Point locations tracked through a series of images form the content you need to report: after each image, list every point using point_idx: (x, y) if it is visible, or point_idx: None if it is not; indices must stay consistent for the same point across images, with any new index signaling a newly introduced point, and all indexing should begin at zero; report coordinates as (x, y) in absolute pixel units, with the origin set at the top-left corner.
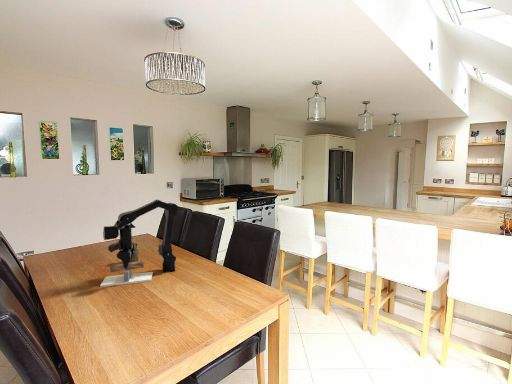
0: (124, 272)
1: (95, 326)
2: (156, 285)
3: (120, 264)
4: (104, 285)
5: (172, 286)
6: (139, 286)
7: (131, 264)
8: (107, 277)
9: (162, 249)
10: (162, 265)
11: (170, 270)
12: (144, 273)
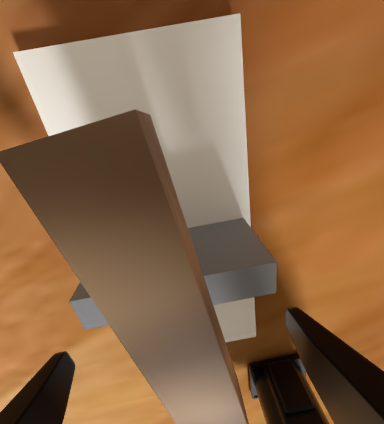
0: (77, 304)
1: None
2: (94, 377)
3: (147, 297)
4: (36, 96)
5: (88, 420)
6: (75, 322)
7: (161, 391)
8: (212, 46)
9: None
10: (281, 396)
11: (255, 388)
12: (238, 308)
